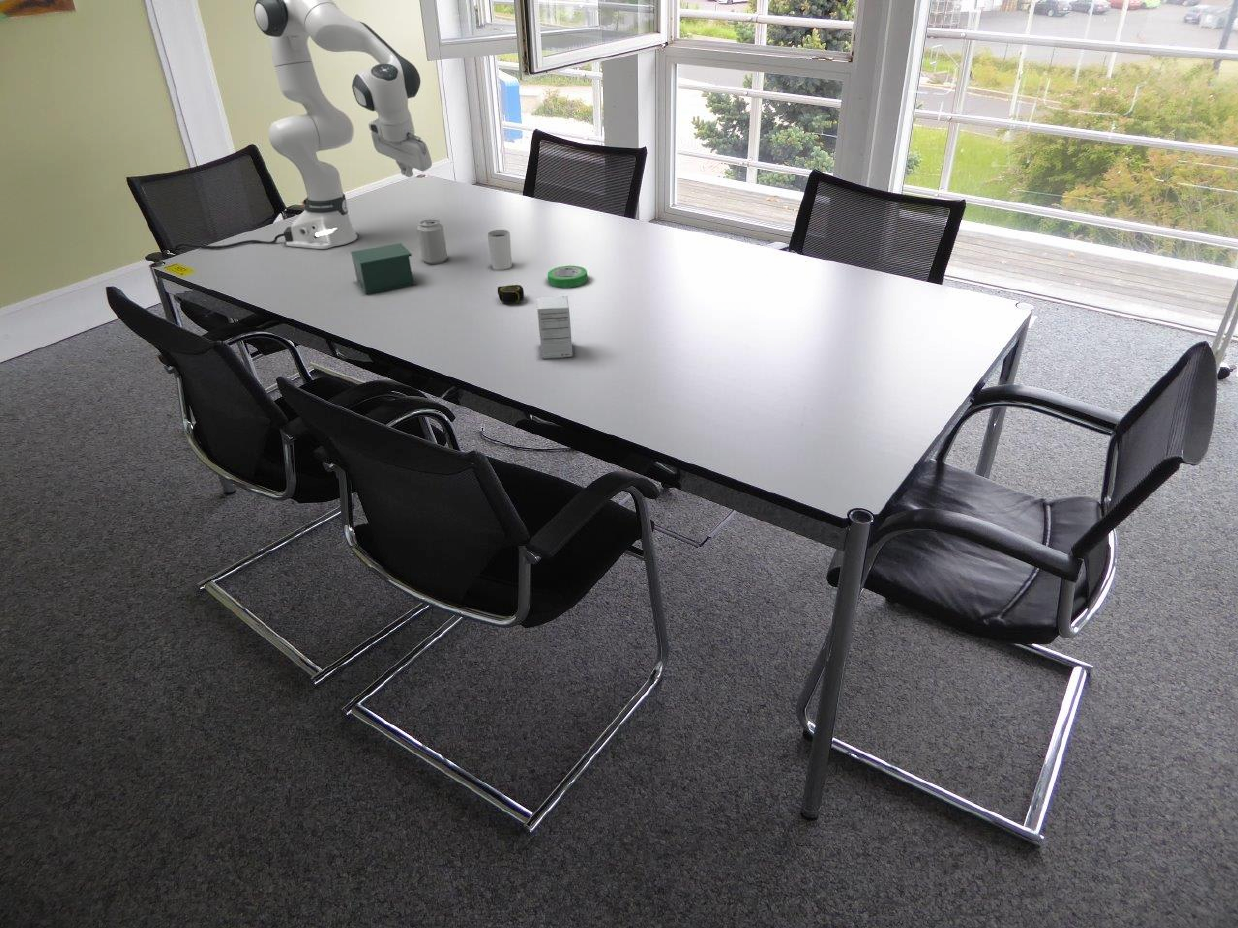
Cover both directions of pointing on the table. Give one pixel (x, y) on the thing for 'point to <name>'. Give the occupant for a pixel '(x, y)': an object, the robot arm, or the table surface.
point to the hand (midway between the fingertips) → (407, 175)
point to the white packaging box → (554, 326)
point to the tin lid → (381, 254)
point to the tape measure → (511, 293)
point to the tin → (384, 275)
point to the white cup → (500, 249)
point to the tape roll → (560, 281)
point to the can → (432, 241)
